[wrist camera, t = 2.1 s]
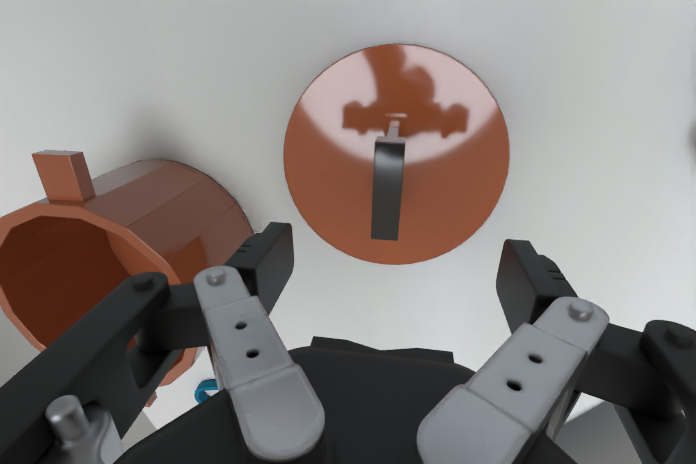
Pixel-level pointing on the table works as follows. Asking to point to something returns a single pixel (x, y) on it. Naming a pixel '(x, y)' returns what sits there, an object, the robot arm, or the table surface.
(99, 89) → the table surface
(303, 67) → the table surface
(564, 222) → the table surface
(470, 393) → the robot arm
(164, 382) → the crock
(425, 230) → the lid
